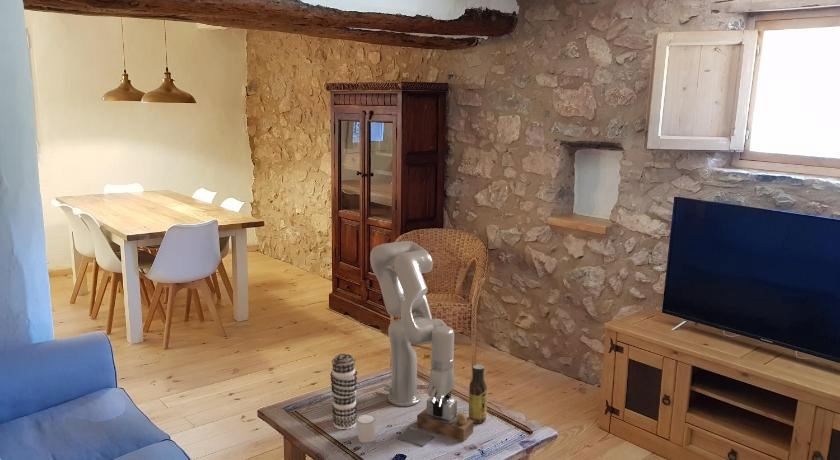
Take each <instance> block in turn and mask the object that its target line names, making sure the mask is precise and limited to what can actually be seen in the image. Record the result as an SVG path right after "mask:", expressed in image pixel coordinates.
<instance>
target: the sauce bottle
mask: <svg viewBox="0 0 840 460" xmlns="http://www.w3.org/2000/svg"><path fill="white" fill-rule="evenodd" d="M484 374H485V366H484V365H482V364H475V365H472V379H471V381H470V383H469V391H468V419H471V420H473V424H482V423H485V422H486V420H487V410H488V408H487V406H488V405H487V404H488V403H487V402H488V386H487V385H486V382H485V375H484Z"/></svg>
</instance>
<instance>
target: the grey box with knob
mask: <svg viewBox="0 0 840 460" xmlns="http://www.w3.org/2000/svg"><path fill="white" fill-rule="evenodd" d="M436 396H438V395H436ZM430 398H431V396H429V398H427V399H426V408H427V414H429V415H432V416H434V415H433V405H432V403H431V402H430ZM436 401H438V402H439V399H436ZM457 405H458V400H455V399H452V398H449V399H448V398H445V397H443V398H442V402H441V406H442V417H439V418H442V419H445V420H449V421H450V420H451V419H452V418H453V417H454V416H455V415H457V414H458V413H457V411H458V408H457V407H458V406H457ZM436 417H438V416H436Z"/></svg>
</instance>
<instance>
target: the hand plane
mask: <svg viewBox="0 0 840 460" xmlns="http://www.w3.org/2000/svg"><path fill="white" fill-rule="evenodd" d="M467 417H468V414H467V413H466V412H464V411H463V412H462V411H461V412H458V413H457V415H455V416H454V417H453V418H452V419H451V420H450V421H449V420H445V419H442V418H439V417H436V416H432V415H429V414H427V407H426V408H424V409H423V410H422V411H421V412H419V413H418V414H417V415H416V427H417V429H421V430H424V431H427V432H431V433H433V434H437V435H440V436H444V437H447V438H450V439H454V440H457V441H460V442H465V441H466V440H467V439H468V438H469V437H470V436H471V435H472V434H473V433H474V423H473V420H471V419H469V418H467Z"/></svg>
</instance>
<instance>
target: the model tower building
mask: <svg viewBox="0 0 840 460" xmlns="http://www.w3.org/2000/svg"><path fill="white" fill-rule="evenodd" d="M355 362H356V359H355V358H354V357H353V356H352V355H351V354H349V353H339V354H337V355H335V357H334V358H332V360H331V363H332V369H331V371H330V374H329V376H330V382H331V384H330V385H331V387H330V388H331V394H332V396H333V400H332V406H331V407H332V422H334V423H332V425H333V424H335V426H338V427H340V428H344V429H347V428H351V429H353V428H352V427H354V426H355V425H356V418H357V417H358V408H357V407H358V405H357V399H356V394H357V391H358V389H357V388H358V387H357V386H356V385H357V384H358V382H357V380H358V377H357V375H358V371H357V370H356V367H355ZM355 427H356V426H355ZM355 427H354V428H355ZM347 430H348V429H347Z"/></svg>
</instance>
